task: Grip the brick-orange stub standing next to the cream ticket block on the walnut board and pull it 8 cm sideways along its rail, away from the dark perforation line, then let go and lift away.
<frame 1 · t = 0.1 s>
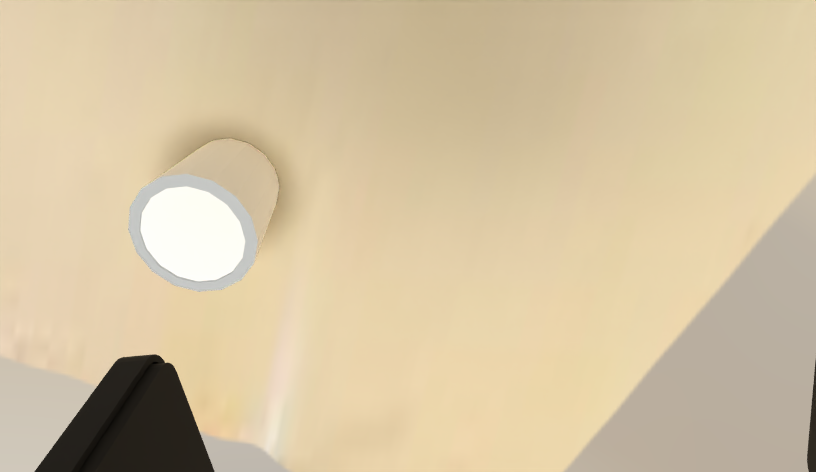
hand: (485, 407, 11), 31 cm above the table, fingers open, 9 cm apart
white cup: (234, 181, 45), on the table
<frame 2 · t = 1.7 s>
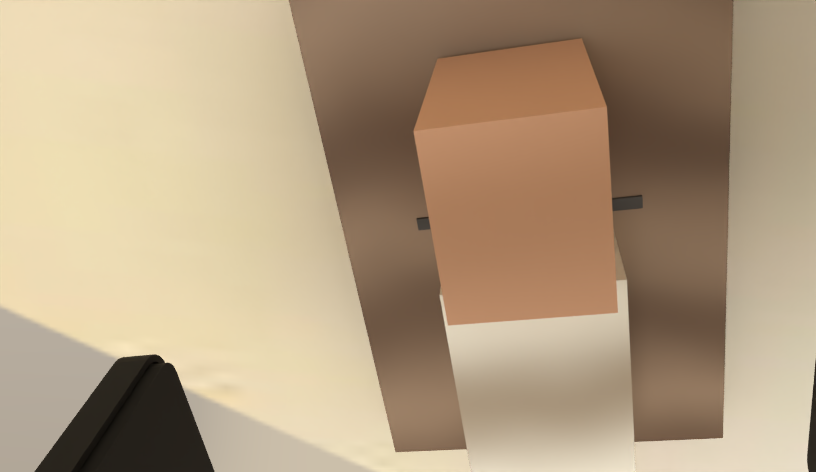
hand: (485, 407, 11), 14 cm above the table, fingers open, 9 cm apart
ticket board: (525, 184, 25), on the table
stub: (518, 173, 19), point 5 cm above the table, slide at 0.0 cm
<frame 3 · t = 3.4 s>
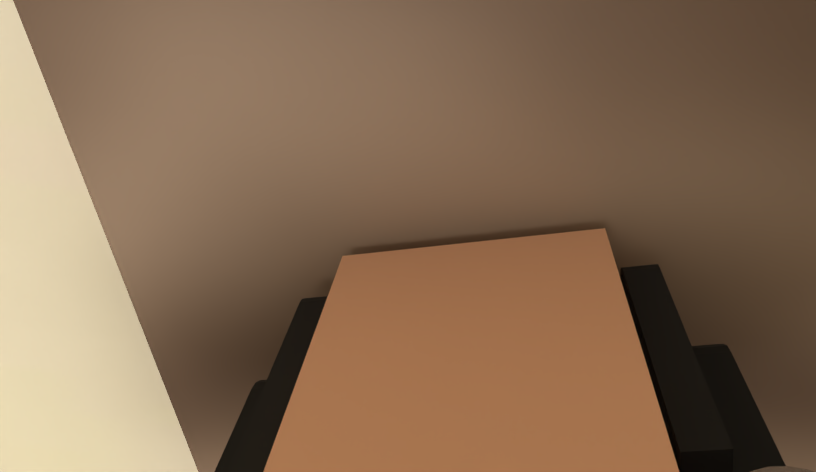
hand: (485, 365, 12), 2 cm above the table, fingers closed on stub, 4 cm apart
ticket board: (504, 414, 15), on the table
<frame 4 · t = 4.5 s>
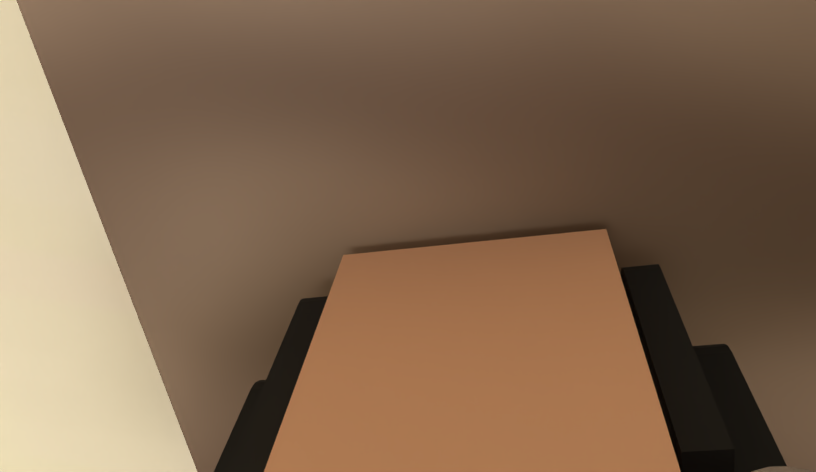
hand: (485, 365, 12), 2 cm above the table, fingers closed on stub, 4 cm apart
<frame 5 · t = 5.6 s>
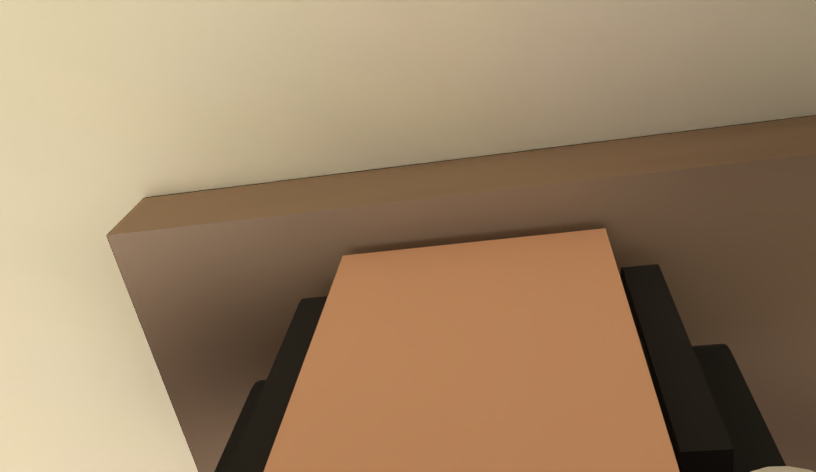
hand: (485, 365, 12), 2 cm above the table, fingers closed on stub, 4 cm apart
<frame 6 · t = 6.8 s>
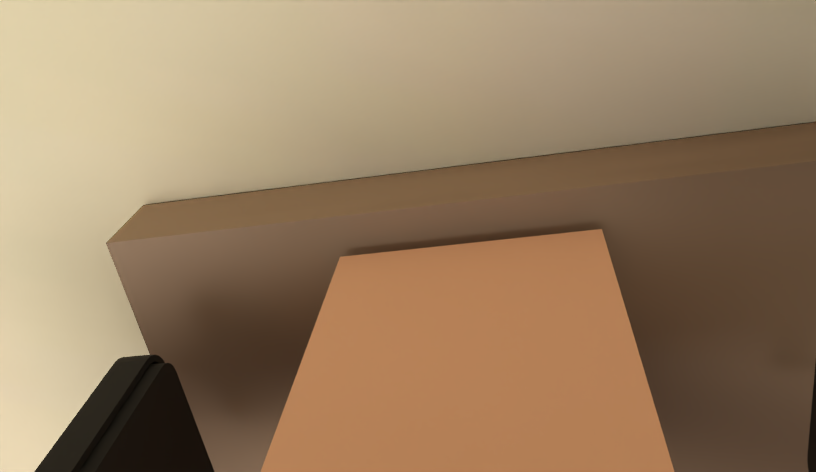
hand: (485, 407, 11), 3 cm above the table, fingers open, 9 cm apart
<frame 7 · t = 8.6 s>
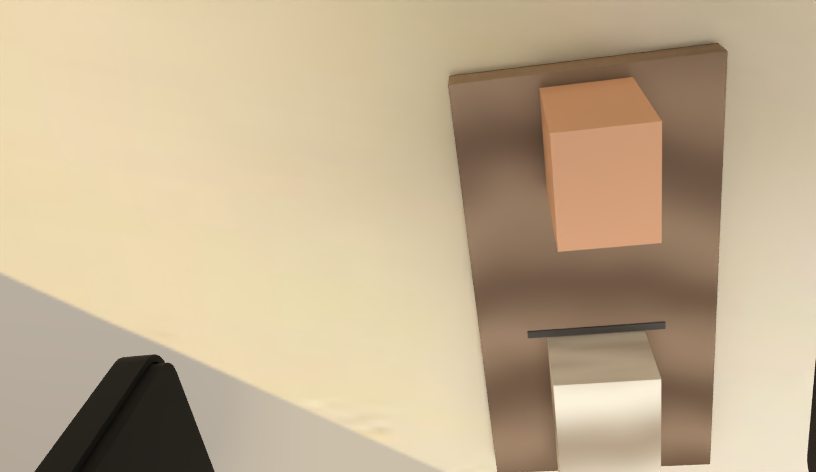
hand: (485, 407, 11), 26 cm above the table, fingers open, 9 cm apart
ticket board: (591, 309, 40), on the table
stub: (596, 160, 31), point 5 cm above the table, slide at 8.0 cm
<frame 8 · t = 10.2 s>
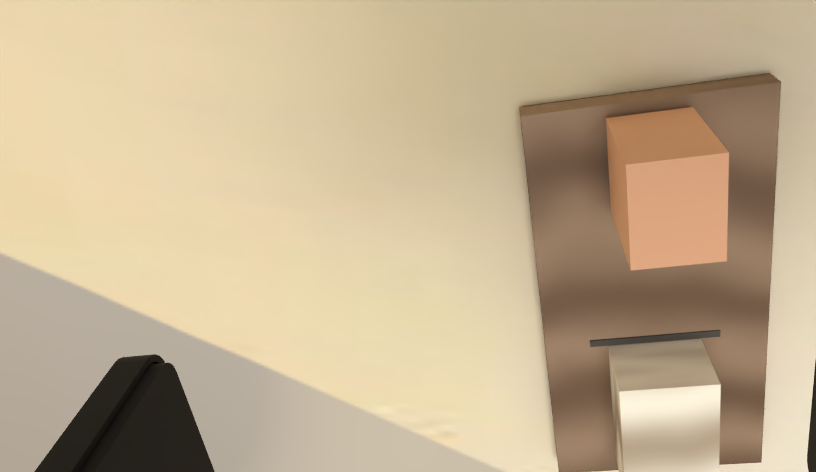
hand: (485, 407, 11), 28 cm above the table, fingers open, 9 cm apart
ticket board: (648, 318, 43), on the table
stub: (662, 185, 34), point 5 cm above the table, slide at 8.0 cm
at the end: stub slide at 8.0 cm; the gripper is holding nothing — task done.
